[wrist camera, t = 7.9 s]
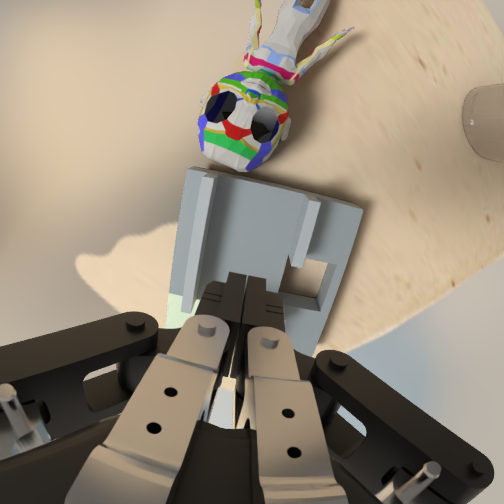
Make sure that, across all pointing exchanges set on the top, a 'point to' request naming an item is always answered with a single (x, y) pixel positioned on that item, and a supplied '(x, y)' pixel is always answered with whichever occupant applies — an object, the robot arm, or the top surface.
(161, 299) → the top surface
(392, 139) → the top surface
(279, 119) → the toy
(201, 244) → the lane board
